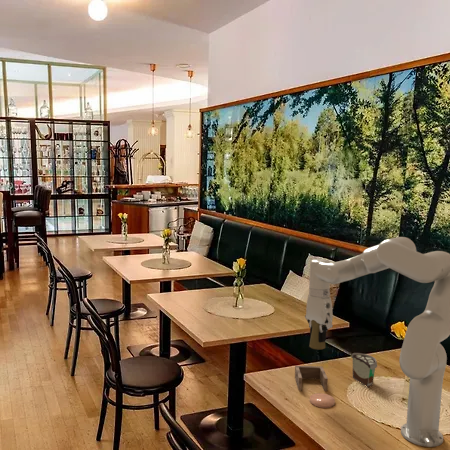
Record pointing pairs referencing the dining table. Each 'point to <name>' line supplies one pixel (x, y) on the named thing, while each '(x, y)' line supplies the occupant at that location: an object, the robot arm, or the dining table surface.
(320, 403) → the terracotta coaster
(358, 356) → the food container
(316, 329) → the olive peg doll
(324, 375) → the walnut shelf bay
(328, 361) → the dining table surface
